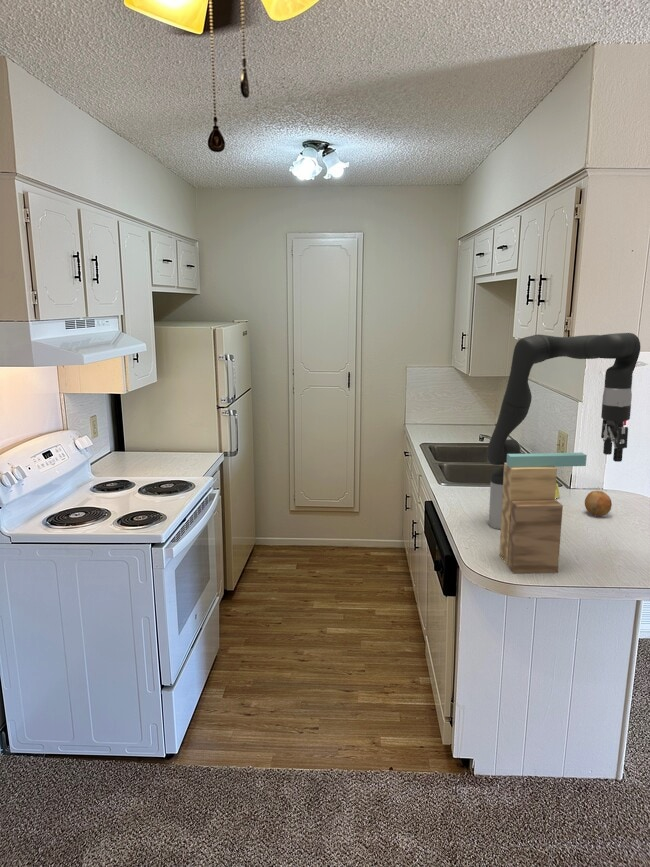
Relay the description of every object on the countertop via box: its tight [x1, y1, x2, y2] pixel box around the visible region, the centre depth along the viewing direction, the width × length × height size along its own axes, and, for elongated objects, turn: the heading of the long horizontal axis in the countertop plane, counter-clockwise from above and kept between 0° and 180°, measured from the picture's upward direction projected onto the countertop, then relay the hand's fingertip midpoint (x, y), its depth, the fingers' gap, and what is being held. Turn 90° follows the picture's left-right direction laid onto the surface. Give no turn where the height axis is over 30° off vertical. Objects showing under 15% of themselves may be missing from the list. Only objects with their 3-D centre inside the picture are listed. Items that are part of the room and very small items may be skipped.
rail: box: [506, 452, 587, 468], centre depth 189 cm, size 4×24×4 cm, turn 91°
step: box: [507, 499, 564, 574], centre depth 186 cm, size 5×14×22 cm, turn 91°
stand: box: [499, 463, 558, 566], centre depth 192 cm, size 8×14×32 cm, turn 91°
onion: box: [584, 490, 613, 517], centre depth 234 cm, size 10×10×10 cm
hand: (612, 457), depth 175 cm, fingers open, 8 cm apart
